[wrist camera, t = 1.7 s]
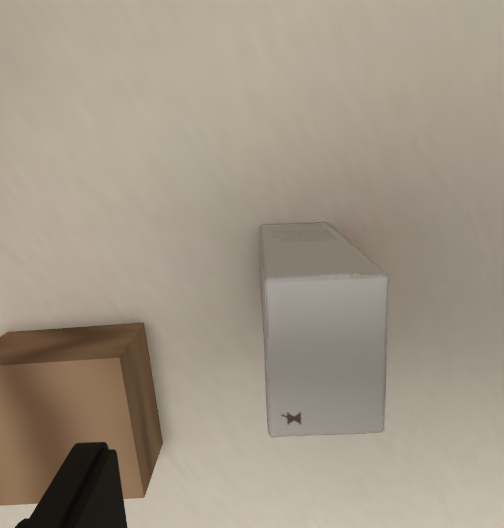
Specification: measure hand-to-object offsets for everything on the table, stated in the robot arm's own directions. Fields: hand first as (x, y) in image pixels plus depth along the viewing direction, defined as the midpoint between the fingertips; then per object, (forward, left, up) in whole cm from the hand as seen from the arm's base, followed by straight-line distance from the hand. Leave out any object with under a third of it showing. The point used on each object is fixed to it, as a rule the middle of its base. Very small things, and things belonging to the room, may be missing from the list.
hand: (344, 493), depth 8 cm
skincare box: (-1, 0, -18) cm, 18 cm away
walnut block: (+13, +8, -18) cm, 24 cm away
